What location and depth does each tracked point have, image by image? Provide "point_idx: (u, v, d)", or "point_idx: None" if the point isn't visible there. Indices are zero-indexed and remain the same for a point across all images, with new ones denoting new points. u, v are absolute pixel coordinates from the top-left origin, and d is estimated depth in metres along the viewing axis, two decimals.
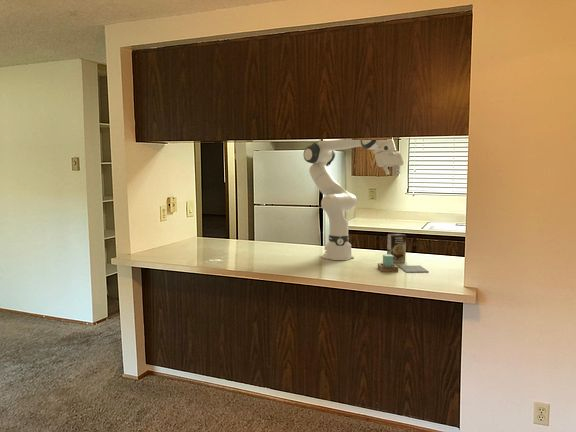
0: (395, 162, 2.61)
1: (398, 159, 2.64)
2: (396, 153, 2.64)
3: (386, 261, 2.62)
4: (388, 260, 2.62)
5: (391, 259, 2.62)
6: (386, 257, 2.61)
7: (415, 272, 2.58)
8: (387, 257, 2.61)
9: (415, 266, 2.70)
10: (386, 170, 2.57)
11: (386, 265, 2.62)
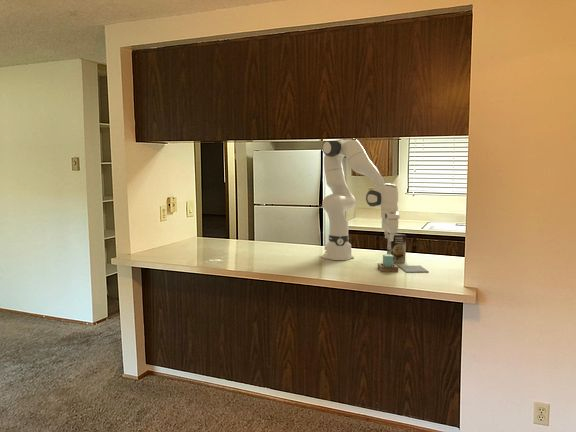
0: None
1: None
2: None
3: (386, 261, 2.62)
4: (388, 260, 2.62)
5: (391, 259, 2.62)
6: (386, 257, 2.61)
7: (415, 272, 2.58)
8: (387, 257, 2.61)
9: (415, 266, 2.70)
10: (391, 237, 2.56)
11: (386, 265, 2.62)
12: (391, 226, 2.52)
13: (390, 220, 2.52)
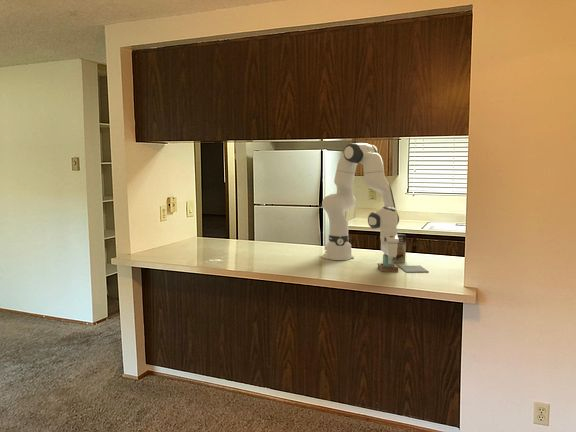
0: None
1: None
2: None
3: (386, 261, 2.62)
4: None
5: None
6: (386, 257, 2.61)
7: (415, 272, 2.58)
8: (387, 257, 2.61)
9: (415, 266, 2.70)
10: (390, 259, 2.60)
11: (386, 265, 2.62)
12: (390, 250, 2.53)
13: (389, 244, 2.54)
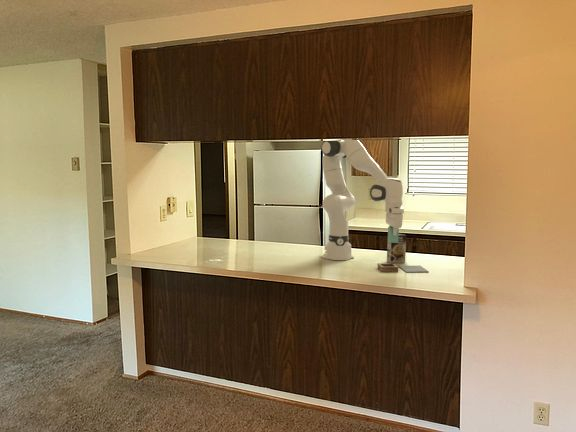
0: None
1: None
2: None
3: (391, 233, 2.60)
4: None
5: None
6: (391, 229, 2.59)
7: (415, 272, 2.58)
8: (392, 229, 2.59)
9: (415, 266, 2.70)
10: (395, 231, 2.58)
11: (391, 237, 2.60)
12: (395, 221, 2.51)
13: (394, 215, 2.52)
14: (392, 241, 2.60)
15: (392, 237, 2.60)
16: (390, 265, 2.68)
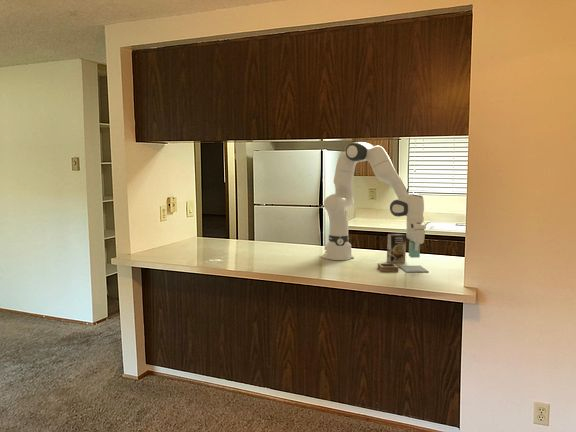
0: None
1: None
2: None
3: (413, 248, 2.61)
4: None
5: None
6: (413, 244, 2.61)
7: (415, 272, 2.58)
8: (414, 244, 2.61)
9: (415, 266, 2.70)
10: (416, 246, 2.60)
11: (413, 252, 2.62)
12: (417, 236, 2.53)
13: (416, 230, 2.54)
14: (413, 256, 2.62)
15: (413, 252, 2.62)
16: (390, 265, 2.68)
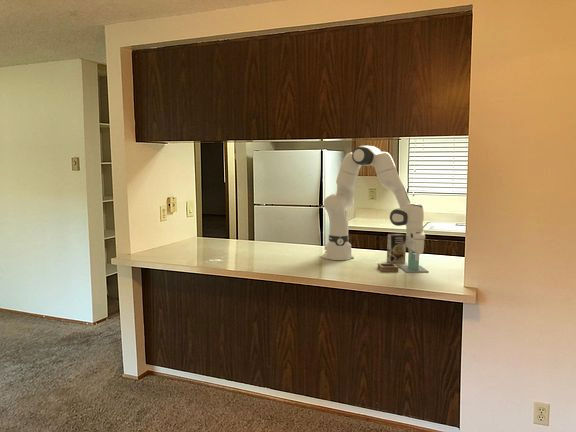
0: None
1: None
2: None
3: (412, 260, 2.62)
4: None
5: None
6: (412, 256, 2.62)
7: (415, 272, 2.58)
8: (413, 256, 2.62)
9: None
10: (417, 256, 2.59)
11: (412, 264, 2.63)
12: (417, 246, 2.54)
13: (416, 240, 2.54)
14: (412, 268, 2.63)
15: (413, 264, 2.63)
16: (390, 265, 2.68)
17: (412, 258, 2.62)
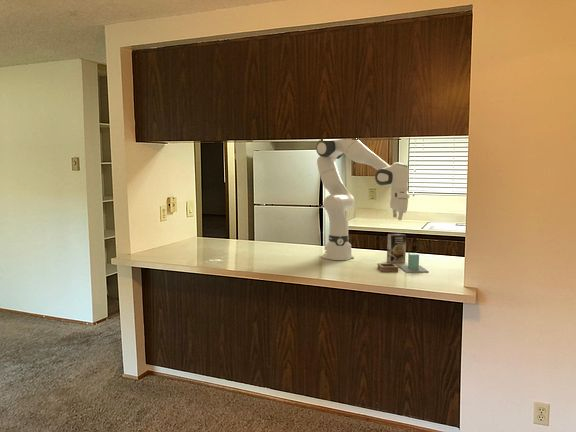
0: None
1: None
2: None
3: (412, 260, 2.62)
4: (414, 259, 2.62)
5: (417, 258, 2.62)
6: (412, 256, 2.62)
7: (415, 272, 2.58)
8: (413, 256, 2.62)
9: None
10: (400, 216, 2.58)
11: (412, 264, 2.63)
12: (401, 205, 2.53)
13: (400, 199, 2.54)
14: (412, 268, 2.63)
15: (413, 264, 2.63)
16: (390, 265, 2.68)
17: (412, 258, 2.62)
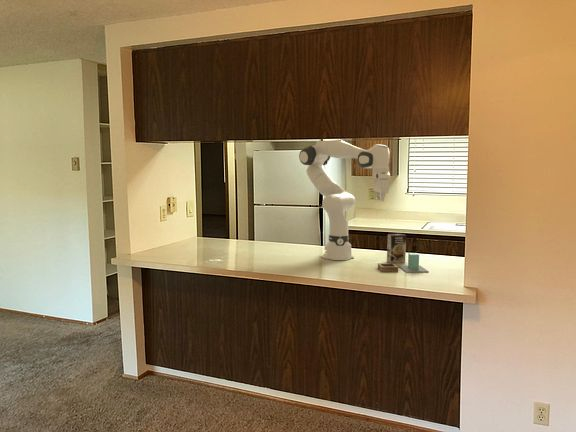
0: None
1: None
2: None
3: (412, 260, 2.62)
4: (414, 259, 2.62)
5: (417, 258, 2.62)
6: (412, 256, 2.62)
7: (415, 272, 2.58)
8: (413, 256, 2.62)
9: None
10: (382, 197, 2.59)
11: (412, 264, 2.63)
12: (382, 186, 2.54)
13: (381, 180, 2.55)
14: (412, 268, 2.63)
15: (413, 264, 2.63)
16: (390, 265, 2.68)
17: (412, 258, 2.62)
